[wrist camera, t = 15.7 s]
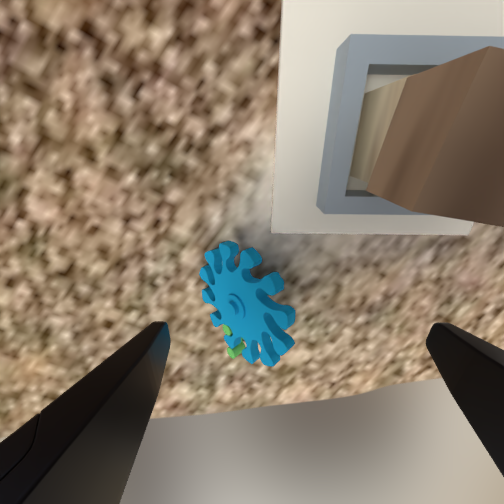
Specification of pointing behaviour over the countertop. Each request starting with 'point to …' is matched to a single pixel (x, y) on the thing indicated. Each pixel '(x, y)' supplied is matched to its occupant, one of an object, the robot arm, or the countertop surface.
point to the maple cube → (374, 127)
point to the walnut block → (448, 141)
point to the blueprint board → (357, 102)
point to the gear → (246, 305)
